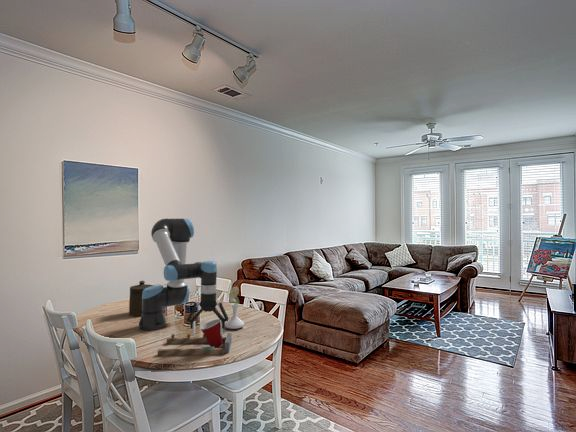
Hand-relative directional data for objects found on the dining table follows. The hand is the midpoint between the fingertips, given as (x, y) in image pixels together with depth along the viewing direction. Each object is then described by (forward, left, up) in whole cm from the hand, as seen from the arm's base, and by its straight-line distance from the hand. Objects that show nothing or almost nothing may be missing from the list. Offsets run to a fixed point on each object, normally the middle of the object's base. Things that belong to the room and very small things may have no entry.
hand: (207, 334), depth 164 cm
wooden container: (-54, +61, -7) cm, 82 cm away
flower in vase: (+11, +29, -7) cm, 32 cm away
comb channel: (-7, 0, -6) cm, 9 cm away
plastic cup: (+5, 0, -6) cm, 7 cm away
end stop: (+10, 0, -6) cm, 12 cm away
